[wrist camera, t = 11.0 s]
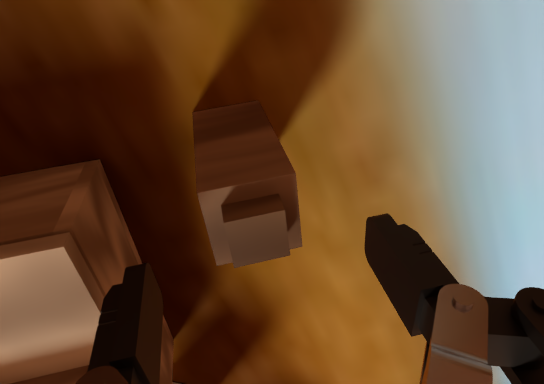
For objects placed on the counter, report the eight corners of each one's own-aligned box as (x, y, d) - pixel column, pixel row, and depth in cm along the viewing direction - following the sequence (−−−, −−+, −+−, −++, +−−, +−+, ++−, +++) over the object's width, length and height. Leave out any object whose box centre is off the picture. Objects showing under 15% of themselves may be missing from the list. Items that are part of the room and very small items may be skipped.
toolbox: (-99, 194, 21) (-202, 281, 15) (99, 159, 22) (71, 228, 17) (42, 370, 31) (10, 462, 25) (173, 339, 32) (171, 420, 27)
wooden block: (192, 112, 22) (197, 210, 13) (258, 100, 22) (303, 188, 14) (206, 170, 24) (218, 285, 16) (266, 158, 25) (309, 264, 16)
